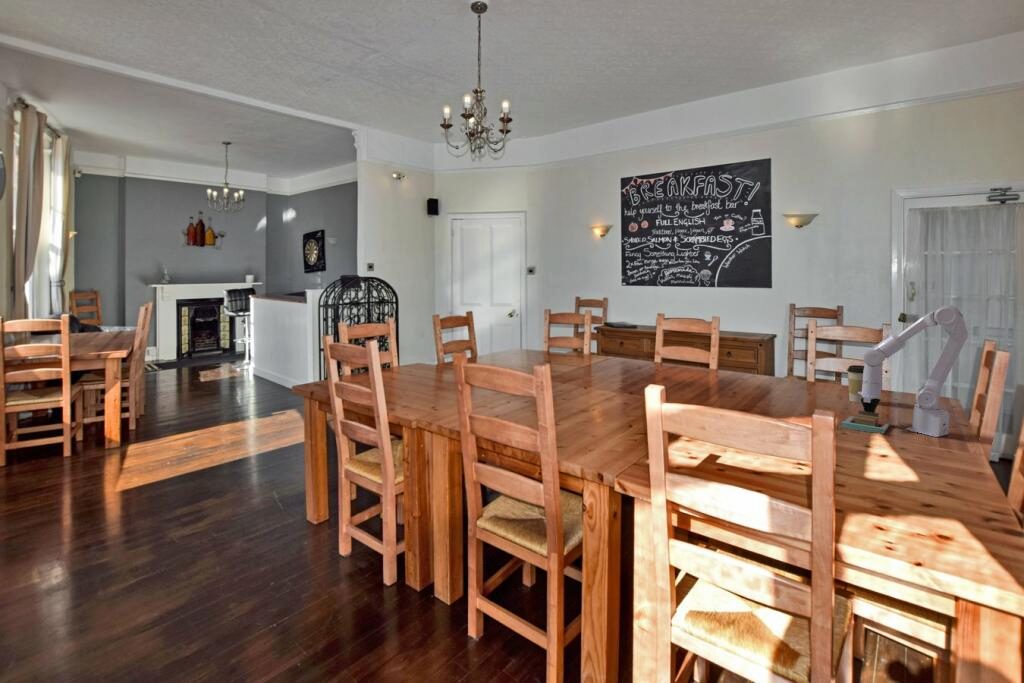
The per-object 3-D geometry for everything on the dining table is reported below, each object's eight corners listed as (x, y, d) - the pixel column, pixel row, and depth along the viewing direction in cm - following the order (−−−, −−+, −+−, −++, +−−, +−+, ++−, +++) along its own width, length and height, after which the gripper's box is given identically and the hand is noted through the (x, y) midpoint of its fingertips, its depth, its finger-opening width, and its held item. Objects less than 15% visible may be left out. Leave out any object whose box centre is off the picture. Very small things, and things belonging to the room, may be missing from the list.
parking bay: (849, 419, 200) (850, 414, 200) (889, 425, 191) (890, 420, 191) (841, 427, 189) (841, 422, 189) (883, 434, 181) (883, 429, 181)
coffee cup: (877, 404, 221) (880, 369, 220) (853, 404, 222) (856, 369, 220) (862, 398, 231) (865, 364, 229) (839, 398, 231) (842, 365, 229)
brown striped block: (858, 422, 196) (859, 410, 195) (877, 425, 192) (878, 413, 191) (854, 426, 191) (855, 414, 190) (874, 429, 187) (875, 417, 186)
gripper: (863, 377, 201) (860, 412, 202) (855, 383, 190) (852, 420, 192) (885, 379, 196) (882, 415, 198) (878, 386, 185) (875, 423, 187)
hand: (869, 418), depth 194 cm, fingers closed
